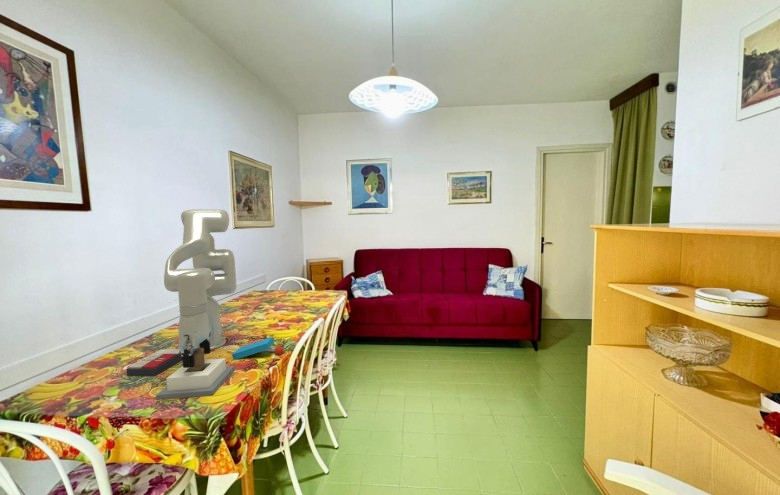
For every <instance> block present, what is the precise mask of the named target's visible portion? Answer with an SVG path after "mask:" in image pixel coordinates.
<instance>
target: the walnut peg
mask: <svg viewBox="0 0 780 495" xmlns="http://www.w3.org/2000/svg"><path fill="white" fill-rule="evenodd" d="M193 354H194V360H195V366H194V367H190V372H198V371H203V370H204V369H205V361H204V360H205V354H204V348H195V349H194V350H193Z"/></svg>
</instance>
